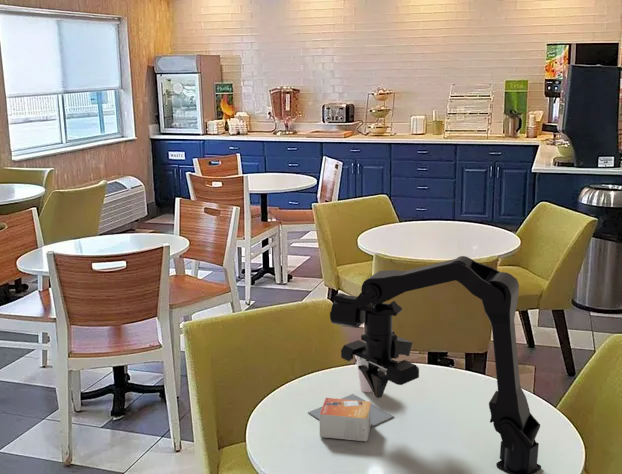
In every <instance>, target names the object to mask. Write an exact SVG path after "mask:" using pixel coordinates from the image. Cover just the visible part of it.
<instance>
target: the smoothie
mask: <svg viewBox="0 0 622 474" xmlns="http://www.w3.org/2000/svg"><path fill="white" fill-rule="evenodd" d="M354 356H355V357H354V358H355V359H356V365H357V372H358V379H359V388H360V391H361V392H363V393H373V391H372V389H371V387H370V385H369V384H368V382H367V380H366V378H365V377H364V375H363V373H362V372H361V370H359V368H358V366H360V365H361V360H360V358H361V357H358V356H356V355H354Z"/></svg>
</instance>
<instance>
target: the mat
mask: <svg viewBox="0 0 622 474" xmlns="http://www.w3.org/2000/svg"><path fill="white" fill-rule="evenodd" d="M341 399H346V400H357V401H366V400H365V399H363V398H361V397H359V396H358V395H356V394H354V393H352V394H349V395H346V396H344V397H342V398H341ZM321 409H322V406H320V407H318V408H314V409H313V410H310V411H308V412H307V414H308V415H310V416H312V417H313V418H314V419H317V420H318V421H320V419H319V417H320V412H321ZM393 418H395V415H392V414H391V413H390V412H388V411H386V410H384V409H381V407H378V406H377V405H375V404H372V405H371V426H370V429H372V428H375V427H376V426H379V425H380V424H383V423H384V422H387V421H389V420H391V419H393Z"/></svg>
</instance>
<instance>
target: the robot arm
mask: <svg viewBox="0 0 622 474" xmlns="http://www.w3.org/2000/svg"><path fill="white" fill-rule="evenodd" d="M454 281H456V282H458V283H460V284H461V285H463V287H464V288H465V289H466V290H467V291H469V293H470V294H472V295H473V296H474V297H477V298H478V299H480V300H481V302H482V305H483V308H484V312H485V314H486V316H487V318H488V321H489V322H490V324H491V334H492V341H493V342H492V343H493V354H494V363H495V375H496V383H497V390H495V392H494V393H493V396H492V397H491V399H490V400H489V401H488V408H489V412H490V420H489V423H493V428H494V430H495V431H496V432H497V433H498V434H499V435H500V439H501V441H500V448H499V449H500V450H499V461H497V462H496V467H498V468H499V469H500V470H501V469H502V470H503V471H505V472H507V473H509V474H535V473H537V472H538V471H540V470H541V469H542V465H541V464H539V463H538V456H539V445H540V443H539V442H537V441H536V437H537V435H538V434H539V431H540V428H541V424H540V422H539V421H538V420H537V419H536V418H535V416H534V415H533V414H532V413H531V411H530V407H529V403H528V399H527V396H526V394H525V393H524V391H523V389H522V387H521V379H520V369H519V358H518V347H517V337H516V325H515V318H516V317H515V316H516V311H517V306H518V301H519V291H520V283H519V281H518V279H517V278H516V277H514V275H512V274H511V273H509V272H504V271H503V272H502V271H499V270H498V269H496V268H494V267H492V266H489V265H486V264H484V263H481V262H477V261H475V260H474V259H472V258H470V257H468V256H464V255H461V256H457V258H453V259H449V260H444V261H441V262H437V263H432V264H429V265H424V266H421V267H417V268H412V269H409V270H408V269H407V270H397V269H391V270H379V271H377V272H375V273H374V274H373V275H371V276H370V277H368V278H367V279H365V280H364V281H362V282H363V283H362V284H361V289H360V290H361V292H360V293H359V295H358V296H356V295H355V296H354V295H348V294H345V293H341V292H338V293H337V294H336V295H334V301H333V303H332V305H331V309H330V312H329V319H330V322H331V324H333V325H338V326H344V327H345V326H346V327H350V328H355V329H356V328H357V329H358V328H359V327H361V325H364V324H365V332H364V334H361V336H360V338H361V340H359V339H358V340H355V341H353V342H349V343H346V344H344V345H343V346H342V348H341V350H340V352H341V353H340V358H341V359H343V360H345V361H348V362H351V361H352V360H353V359H354V356H355V355H356V356H358V357H361V358H360V360H361V365H360V366H357V369H358V368H359V370H361V372H362V373H363V375H364V377H365V378H366V380H367V382H368V384H369V385H370V387H371V389H372V391H373V392H372V393H373V395H374V397H375V398H376V399H381V398H382V397H383V394H384V392H385V389H386V387H387V385H388V382H391V383H393V384H395V385H398V386H403V385H405V384H407V383H409V382H412V381H414V380H417V379H419V378H420V367H419V366H418V365H417V364H414V363H412V362H410V361H408V360H405V359H403V360H401V361H397V360H396V359H398V358H400V357H399V356H400V355H401V356H403V355H404V356H406V357H410V354H411V351H412V346H413V341H410V340H409V339H406V338H403V337H400V336H397V334H395V331H394V330H393V317H396V316H397V315H399V314H400V313H401V312H402V311H403V308H402V306H401V305H399V304H398V303H397V302H396V300H392V299H394V298H396V297H398V296H399V295H402V294H404V293H406V292H410V291H411V292H412V291H416V290H419V289H424V288H427V287H429V288H430V287H432V286H436V285H441V284H447V283H450V282H454ZM389 300H392V301H391V302H390V303H386V302H387V301H388V302H389ZM394 359H395V360H394Z"/></svg>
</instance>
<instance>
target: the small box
mask: <svg viewBox="0 0 622 474" xmlns="http://www.w3.org/2000/svg"><path fill="white" fill-rule="evenodd" d="M372 403H373V402H372V401H368V400H365V401H357V400H346V399H342V398H335V397H334V398H333V397H325V399H324V402H323V404H322V406H321V407H322V409H321V412H320V417H319V419H320V420H319V438H325V439H326V438H327V439H337V440H347V441H349V440H350V441H358V442H368V439H369V435H370V431H371V430H370V429H371V428H370V426H371V405H372Z"/></svg>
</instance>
